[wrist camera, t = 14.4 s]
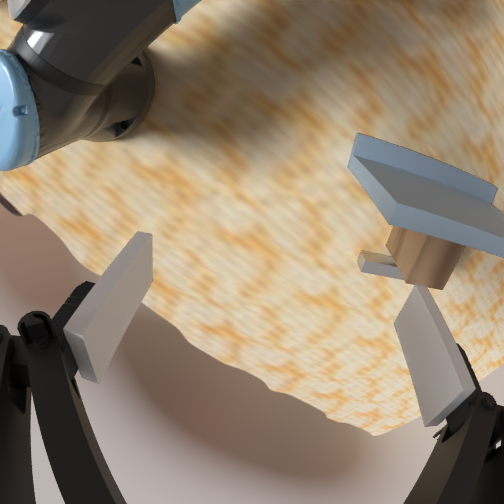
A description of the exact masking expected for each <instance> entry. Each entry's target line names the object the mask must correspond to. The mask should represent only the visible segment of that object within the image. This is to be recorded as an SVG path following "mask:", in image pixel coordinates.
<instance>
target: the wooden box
mask: <svg viewBox="0 0 504 504" xmlns="http://www.w3.org/2000/svg"><path fill="white" fill-rule="evenodd" d="M386 246H387V248H388V250H389V252H390V254H391V256H392V257H393V259H394V261H395V263H396V265H397V267H398V269H399V271H400V272H401V274H402V276H403V278H404V280H405V282H406V283H408V284H413V285H415V284H417V285H422V286H427V287H429V288H434V289H440V290H443V288H444V286H445V285H446V283H447V281H448V279H449V277H450V275H451V274H452V272H453V270H454V268H455V266H456V264H457V262H458V260H459V258H460V256H461V254H462V252H463V250H464V248H465V245H461V244H458V243H455V242H451V241H448V240H444V239H441V238H437V237H434V236H430V235H427V234H423V233H419V232H416V231H412V230H408V229H405V228H401V227H397V226H393V229H392V231H391V234H390V236H389V239H388V241H387V244H386Z"/></svg>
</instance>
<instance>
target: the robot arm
mask: <svg viewBox="0 0 504 504" xmlns="http://www.w3.org/2000/svg"><path fill="white" fill-rule="evenodd" d="M200 1H201V0H7V3H8V11H9V18H10V19H12V20H15V21H18V22H20V23H23V26H22V27H21V29H20V30H19V32H18V33H17V35H16V36H15V38H14V40H13V41H12V43H11V44H10V46H9V47H8V48H7V49H6V50H5V49H0V170H1V171H10V170H13V169H15V168H18V167H21V166H26V165H28V164H31V163H32V162H33V161H34V160H36V159H38V158H40V157H42V156H44V155H46V154H48V153H51V152H53V151H55V150H57V149H59V148H62V147H64V146H66V145H68V144H71V143H73V142H76V141H78V140H80V139H81V140H87V141H93V142H106V141H111V140H114V139H116V138H119V137H121V136H124V135H126V134H127V133H129V132H131V131H132V130H133V129H135V128H136V127H137V126H138V125H139V124H140V123H141V121H142V120H143V119H144V117H145V116H146V114H147V112H148V110H149V108H150V106H151V103H152V100H153V96H154V88H155V80H154V73H153V69H152V66H151V64H150V62H149V60H148V58H147V57H146V55H145V54H144V53H143V52H142V51H143V50H144V49H145V48H147V47H148V46H149V45H150V44H151V43H152V42H153V41H154V40H155V39H156V38H157V37H159V36H160V35H161V34H162V33H163V32H164V31H165V30H167V29H168V28H169V27H170V26H171V25H172V24H177V23H178V22H179V21H180V20H181V17H182V16H183V15H184V14H185V13H187V12H188V11H189V10H190V9H191V8H193V7H194V6H195V5H196V4H197V3H199V2H200ZM152 282H153V258H152V234H149V233H144V232H139V231H138V232H137V233H136V234H135V235H134V236H133V237H132V239H131V240H130V241H129V242H128V243H127V245H126V246H125V247H124V248H123V250H122V251H121V252H120V253H119V254H118V256H117V257H116V258H115V259H114V261H113V262H112V263H111V264H110V266H109V267H108V268H107V270H106V271H105V272H104V273H103V275H102V276H101V277H100V279H99V280H98V281H97V283H92V282H88V281H86V282H84V283H82V284H81V285H79V286H78V287H76V288H75V290H74V291H73V292H72V293H71V295H70V297H68V299H67V300H66V301H65V304H63V305H62V306H61V308H60V309H59V310H58V312H57V313H56V314H55V316H54V317H53V318H52V320H51V318H50V316H49V315H48V314H47V313H45V312H42V311H32V312H30V313H27V314H26V315H24V316H23V317H22V318H21V320H20V321H19V323H18V328H17V329H18V331H19V333H20V336H14V335H10V333H9V331H8V329H7V328H6V327H5V326H3V325H0V504H36V501H35V493H34V485H33V475H32V461H31V435H30V420H31V418H30V417H31V393H32V396H33V401H34V405H35V410H36V415H37V419H38V423H39V427H40V431H41V435H42V439H43V442H44V446H45V449H46V452H47V455H48V459H49V462H50V465H51V468H52V471H53V473H54V476H55V479H56V482H57V484H58V487H59V489H60V492H61V495H62V497H63V500H64V502H65V504H127V503H126V501H125V500H124V498H123V496H122V494H121V492H120V490H119V488H118V486H117V484H116V482H115V480H114V478H113V476H112V474H111V472H110V470H109V468H108V465H107V463H106V461H105V459H104V457H103V454H102V452H101V450H100V447H99V445H98V442H97V440H96V438H95V435H94V433H93V430H92V427H91V425H90V422H89V419H88V416H87V414H86V411H85V408H84V405H83V402H82V399H81V396H80V393H79V389H78V386H77V383H76V380H75V377H74V376H75V374H76V372H77V371H78V369H79V372H80V374H81V377H82V378H84V379H87V380H90V381H92V382H95V383H98V384H99V383H100V381H101V378H102V377H103V375H104V373H105V371H106V368H107V366H108V364H109V362H110V360H111V358H112V356H113V354H114V352H115V350H116V348H117V346H118V345H119V342H120V341H121V339H122V337H123V335H124V333H125V331H126V329H127V327H128V325H129V324H130V322H131V320H132V318H133V316H134V314H135V312H136V311H137V309H138V307H139V305H140V303H141V301H142V300H143V298H144V296H145V294H146V292H147V291H148V289H149V287H150V285H151V284H152ZM394 326H395V329H396V332H397V335H398V338H399V341H400V344H401V347H402V350H403V353H404V356H405V359H406V362H407V365H408V368H409V372H410V375H411V378H412V382H413V385H414V389H415V392H416V396H417V399H418V403H419V407H420V411H421V414H422V418H423V422H424V426H425V427H429V426H437V425H439V424H440V423H441V422H442V421H443V420H444V419H445V418H446V420H447V424H446V425H445V426H444V427H443V428H442V429H441V430H440V431H438V432H437V433H436V434H435V435H434V436H433V438H435V437H437V436H438V435H439V434H440V436H439V438H438V439H437V440H438V441H437V443H436V445H435V447H434V449H433V451H432V453H431V455H430V457H429V459H428V461H427V463H426V465H425V467H424V469H423V471H422V473H421V474H420V477H419V478H418V480H417V482H416V483H415V485H414V487H413V489H412V490H411V492H410V494H409V496H408V497H407V499H406V500H405V502H404V504H504V406H500V405H497V403H496V401H495V399H494V398H493V396H491V395H490V394H489V393H487V392H482V390H481V388H480V385H479V383H478V380H477V378H476V376H475V373H474V371H473V369H472V368H471V364H470V362H468V358H467V355H466V353H465V351H464V350H463V349H462V348H461V346H460V345H459V344H457V343H456V342H455V340H454V338H453V336H452V334H451V332H450V330H449V328H448V326H447V324H446V322H445V320H444V318H443V316H442V314H441V312H440V310H439V308H438V306H437V304H436V302H435V301H434V299H433V297H432V295H431V293H430V291H429V290H428V288H427V286H422V285H417V284H415V286H414V287H413V289H412V291H411V293H410V295H409V297H408V299H407V301H406V302H405V304H404V306H403V308H402V310H401V311H400V313H399V315H398V317H397V318H396V320H395V322H394ZM500 440H501V446H500V447H498V448H497V449H496V444H497V443H498V442H499V441H500Z"/></svg>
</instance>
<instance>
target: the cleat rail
mask: <svg viewBox="0 0 504 504" xmlns="http://www.w3.org/2000/svg"><path fill="white" fill-rule="evenodd" d="M357 262H358V265H359V268H360V271H361V272H365V273H370V274H375V275H381V276H386V277H391V278H396V279H401V280H404V278H403V276H402V274H401V272H400V271H399V269H398V267H397V265H396V263H395V261H394V259H393V257H390V256H386V255H381V254H377V253H372V252H367V251H363V250H361V252H360V255H359V257H358V260H357Z"/></svg>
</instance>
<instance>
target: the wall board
mask: <svg viewBox="0 0 504 504" xmlns="http://www.w3.org/2000/svg"><path fill="white" fill-rule="evenodd" d="M348 168H349V169H350V171H351V172H352V173H353V175H354V176H355V177H356V179H357V180H358V181H359V183H360V184H361V185H362V187H363V188H364V189H365V191H366V192H367V194H368V195H369V196H370V198H371V199H372V200H373V202H374V203H375V205H376V206H377V208H378V209H379V210H380V212H381V213H382V215H383V216H384V218H385V219H386V221H387V222H388V224H389V225H393V226H397V227H401V228H405V229H408V230H412V231H416V232H419V233H423V234H427V235H430V236H434V237H437V238H441V239H444V240H448V241H451V242H455V243H458V244H461V245H465V246H468V247H471V248H475V249H478V250H481V251H484V252H487V253H490V254H494V255H497V256H500V257H503V258H504V214H503V213H502V212H501V211H500V210H498V209H497V208H496V207H495V206H493V205H492V201H493V198H494V196H495V193H496V190H497V187H496V186H494V185H492V184H490V183H488V182H486V181H484V180H482V179H480V178H478V177H476V176H473V175H471V174H469V173H467V172H465V171H462V170H460V169H458V168H455V167H453V166H451V165H448V164H446V163H443V162H441V161H438V160H436V159H433V158H431V157H428V156H426V155H423V154H420V153H418V152H415V151H412V150H410V149H407V148H404V147H401V146H398V145H395V144H392V143H389V142H386V141H383V140H380V139H377V138H374V137H370V136H367V135H364V134H360V133H356V137H355V141H354V145H353V149H352V153H351V156H350V160H349V164H348Z"/></svg>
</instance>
